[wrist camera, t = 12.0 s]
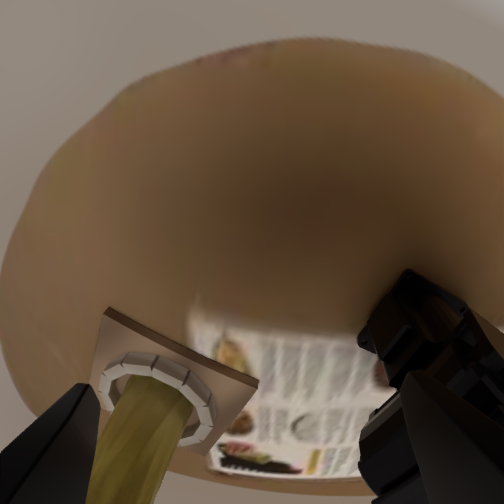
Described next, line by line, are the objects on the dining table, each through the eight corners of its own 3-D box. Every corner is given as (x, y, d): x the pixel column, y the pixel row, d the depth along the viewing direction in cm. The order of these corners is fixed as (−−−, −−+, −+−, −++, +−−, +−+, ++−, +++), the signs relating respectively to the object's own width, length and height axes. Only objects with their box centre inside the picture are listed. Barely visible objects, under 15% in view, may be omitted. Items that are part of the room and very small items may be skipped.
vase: (203, 420, 25) (158, 564, 12) (144, 419, 26) (87, 542, 13) (177, 369, 23) (105, 531, 10) (115, 371, 24) (33, 501, 11)
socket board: (258, 380, 24) (255, 402, 22) (206, 448, 28) (201, 467, 26) (108, 307, 23) (93, 323, 21) (91, 392, 28) (80, 408, 25)
